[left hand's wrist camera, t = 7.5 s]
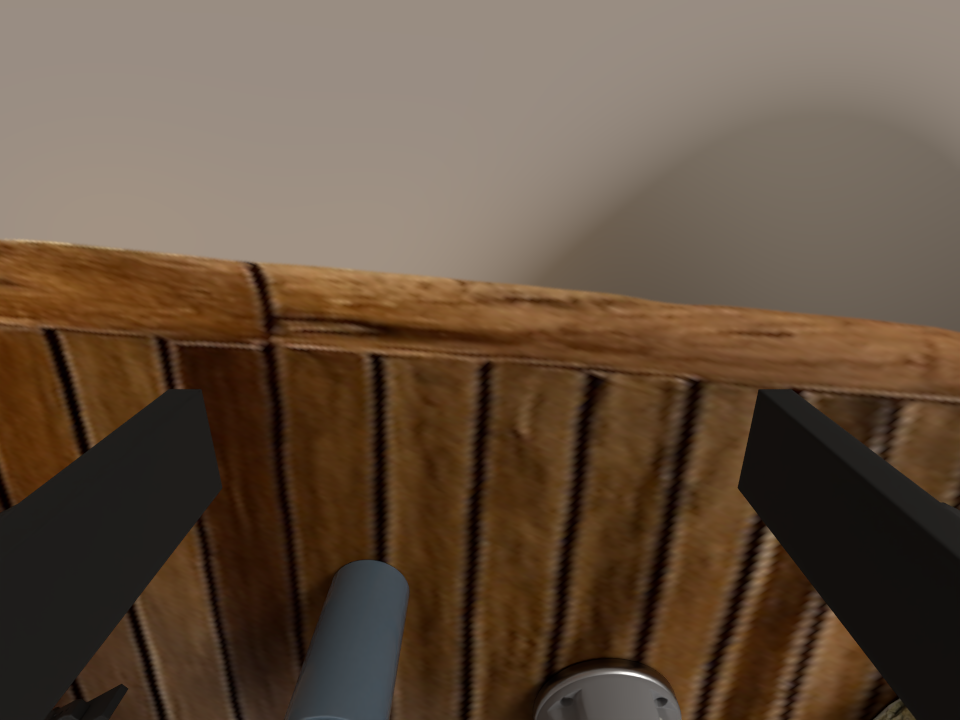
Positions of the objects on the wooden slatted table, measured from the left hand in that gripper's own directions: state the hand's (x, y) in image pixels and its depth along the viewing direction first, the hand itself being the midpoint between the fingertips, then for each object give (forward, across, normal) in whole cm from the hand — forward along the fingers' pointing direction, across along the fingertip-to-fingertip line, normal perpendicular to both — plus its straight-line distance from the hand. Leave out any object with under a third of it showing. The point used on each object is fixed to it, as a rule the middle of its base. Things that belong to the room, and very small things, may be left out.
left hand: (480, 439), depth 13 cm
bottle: (+28, +11, +33) cm, 44 cm away
